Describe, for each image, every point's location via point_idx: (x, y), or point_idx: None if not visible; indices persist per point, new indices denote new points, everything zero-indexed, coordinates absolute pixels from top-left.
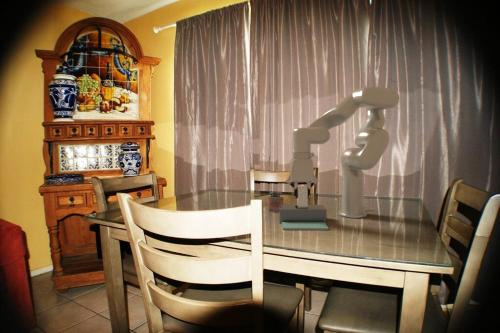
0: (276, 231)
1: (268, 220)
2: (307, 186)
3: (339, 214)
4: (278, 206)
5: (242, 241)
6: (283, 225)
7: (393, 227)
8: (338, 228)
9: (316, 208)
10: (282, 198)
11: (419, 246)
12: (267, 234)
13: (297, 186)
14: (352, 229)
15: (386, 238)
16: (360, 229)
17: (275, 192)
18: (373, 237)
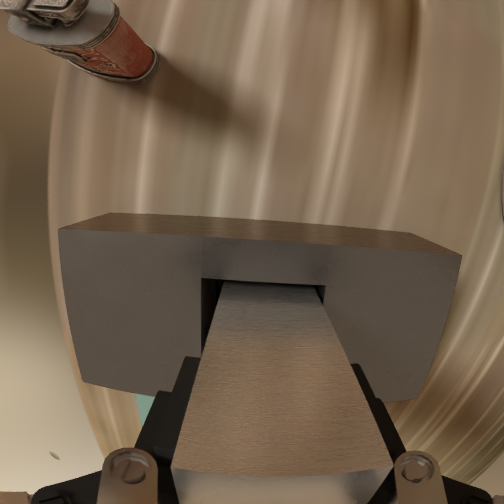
0: (122, 428)
1: (60, 276)
2: (389, 486)
3: (502, 189)
4: (102, 66)
5: (56, 458)
6: (141, 403)
7: None
8: (396, 410)
9: (369, 380)
10: (100, 37)
11: (470, 471)
12: (98, 442)
13: (185, 496)
14: (435, 411)
15: (457, 453)
16: (457, 405)
17: (20, 9)
18: (436, 456)
